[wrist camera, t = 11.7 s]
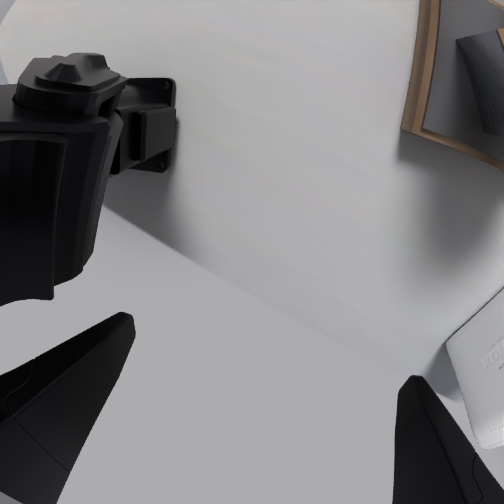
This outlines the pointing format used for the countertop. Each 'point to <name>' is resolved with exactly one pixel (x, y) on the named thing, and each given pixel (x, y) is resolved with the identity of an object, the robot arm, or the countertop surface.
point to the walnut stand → (450, 78)
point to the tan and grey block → (486, 76)
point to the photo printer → (482, 371)
